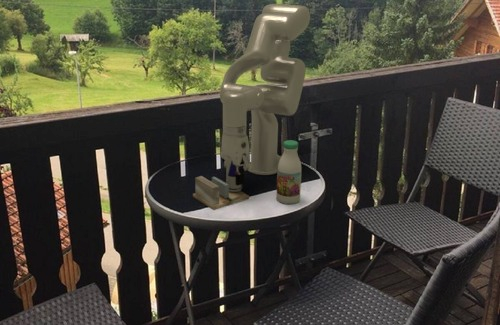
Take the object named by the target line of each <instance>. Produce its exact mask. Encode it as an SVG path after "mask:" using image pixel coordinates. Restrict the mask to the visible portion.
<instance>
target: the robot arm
mask: <svg viewBox="0 0 500 325" xmlns="http://www.w3.org/2000/svg"><path fill="white" fill-rule="evenodd" d="M310 21H311V13H310V11H309V9H308V7H307V6H305V5H298V4H283V3H270V4H267V5H265V6H264V7H263V9H262V11H261V14H259V15H258V16H256V19H255V20H254V24H253V27H252V29H251V33H250V36H249V38H248V43H247V45H246V49H245V52H244V53H243V55H241V56H240V57H238V58H237V59H235V61H234V62H233V63H232V64H231V65H230V66H229V67H228V69H227V70H226V71H225V74H224V77H223V81H222V83H221V86H220V91H219V100H220V102H221V103H222V136H221V148H220V149H221V150H220V151H221V152H220V153H219V155H220V157H221V159H222V162H223V168H224V179H225V180H226V157H227V156H228V157H230V158H231V159H232V162H233V164H234V165H235V166H236V171H237V174H236V185H237V186H238V185H241V184H242V185H244V184H245V175H246V173H247V171H248V172H249V173H251V174H254V175H260V176H270V175H275V174H277V172H278V164H279V161H280V159H281V157H282V155H279V154H278V136H279V135H278V134H279V123H278V122H279V121H278V119H277V117H276V116H275V115H281V116H282V115H283V116H293V115H294V114H295V113H296V112H297V110H298V107H299V103H300V100H301V95H302V90H303V88H304V87H303V86H304V83H305V78H306V64H305V63H304V61H303V60H302V59H301V58H296V57H290V56H289V55H290V50H291V42H292V41H294V40H295V39H297V38H298V37H299V36H300V35H301V34H302V33H304V32H305V31H306V29H307V28H308V26H309V24H310ZM290 41H291V42H290ZM257 68H260V72H259V73H260V78H261V79H262V80H263V82H267V83H272V84H277V85H270V84H257V85H254V86H252V85H247V84H242V83H241V84H239V83H237V81H238V79H239V78H240V77H241V76H242V75H244V74H245V73H247V72H249V71H252V70H253V69H257ZM278 84H279V85H285V86H287V87H285V86H278ZM250 111H251V135H250V136H251V138H250V142H251V143H249V136H248V135H247V122H248V121H247V120H248V119H247V112H250ZM250 148H251V149H250ZM240 163H241V164H240ZM240 166H241V167H242V168H241V169H239V167H240Z"/></svg>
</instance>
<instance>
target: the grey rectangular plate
mask: <svg viewBox="0 0 500 325" xmlns="http://www.w3.org/2000/svg"><path fill="white" fill-rule="evenodd" d="M211 182H213V183H214V184H216V185H218V186H219V195H221V196H223V197H224V198H227V199H228V200H230V201H232V199H231V198H229V185H228V184H227V183H226V181H224V180H222V179H219V178H218V177H216V176H212V177H211Z"/></svg>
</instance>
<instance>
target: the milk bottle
mask: <svg viewBox="0 0 500 325" xmlns="http://www.w3.org/2000/svg"><path fill="white" fill-rule="evenodd" d="M298 149H299V142H298V141H296V140H292V139H289V140H288V139H287V140H284V141H283V153H282V155H281V156H282V157H281V159H280V161H279V164H278V172H277V173H276V174H277V175H276V196H275V198H276V200H277V201H278V203H281V202H282V204H284V203H294V204H297V203H298V202H299V201H300V200H301V188H302V187H301V186H302V162H301V159H300V157H299V155H298ZM296 202H297V203H296Z"/></svg>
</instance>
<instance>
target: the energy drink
mask: <svg viewBox="0 0 500 325" xmlns="http://www.w3.org/2000/svg"><path fill="white" fill-rule="evenodd" d="M240 164H241V163H240ZM225 168H226V179H225V183H227V184H228V185H229V191H231V192H237V191H242V189H243V184H241V185H238V186H237V185H236V174H237V171H236V166H235V165H234V164H233V162H232V159H231V158H230V157H228V156H227V157H226V167H225ZM241 168H242V167H241V166H240V167H239V169H241Z"/></svg>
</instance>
